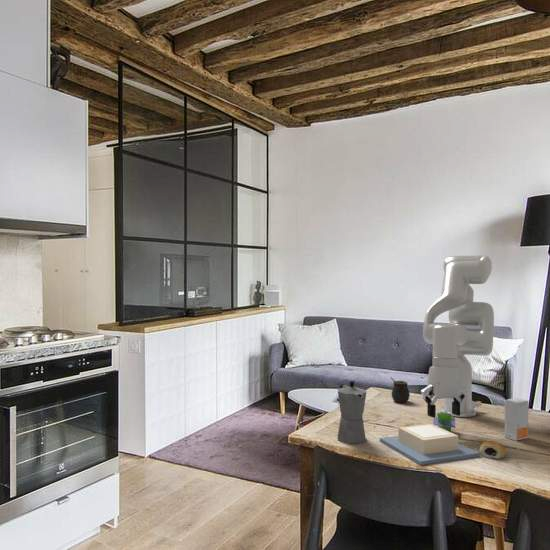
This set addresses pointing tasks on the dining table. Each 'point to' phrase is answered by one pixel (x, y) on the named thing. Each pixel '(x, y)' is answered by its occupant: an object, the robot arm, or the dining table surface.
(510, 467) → the dining table surface
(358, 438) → the coffeepot
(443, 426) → the geometric puzzle
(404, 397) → the mate gourd
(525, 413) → the skincare box
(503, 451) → the pastry
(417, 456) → the board
